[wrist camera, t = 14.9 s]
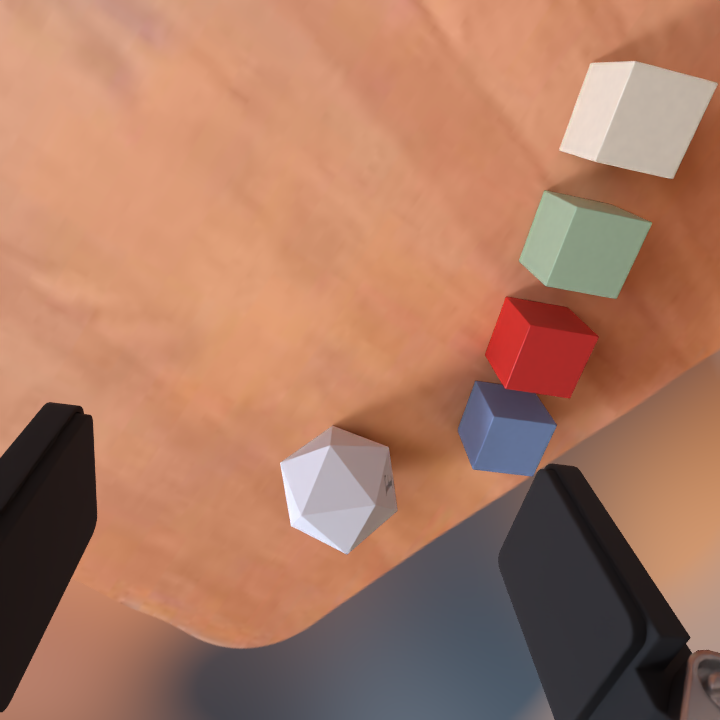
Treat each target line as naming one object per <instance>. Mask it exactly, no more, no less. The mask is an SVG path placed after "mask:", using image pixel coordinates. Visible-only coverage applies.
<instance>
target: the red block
mask: <svg viewBox="0 0 720 720" xmlns="http://www.w3.org/2000/svg"><path fill="white" fill-rule="evenodd" d="M598 338H599V336H598V335H597V334H596V333H595V332H593V331H592V330H591V329H590V328H589V327H588V326H587V325H586V324H585V323H584V322H583V321H582V320H581V319H580V318H578V317H577V316H576V315H575V314H574V313H573V312H572V311H571V310H570V309H569V308H568V307H563V306H557V305H551V304H546V303H540V302H534V301H529V300H523V299H518V298H512V297H506V299H505V301H504V304H503V307H502V310H501V312H500V315H499V318H498V321H497V323H496V326H495V329H494V331H493V334H492V337H491V340H490V342H489V345H488V348H487V351H486V353H485V356H486V358H487V359H488V361H489V363H490V364H491V366H492V368H493V369H494V371H495V373H496V375H497V376H498V378H499V380H500V381H501V383H502V385H503V386H504V388H505V389H510V390H516V391H523V392H530V393H537V394H543V395H550V396H557V397H564V398H570V397H571V395H572V393H573V391H574V389H575V387H576V385H577V382H578V380H579V378H580V376H581V374H582V372H583V370H584V368H585V366H586V363H587V361H588V359H589V357H590V355H591V353H592V351H593V349H594V347H595V344H596V342H597V340H598Z"/></svg>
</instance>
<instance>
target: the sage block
mask: <svg viewBox="0 0 720 720" xmlns="http://www.w3.org/2000/svg"><path fill="white" fill-rule="evenodd" d="M651 225H652V222H650V221H648V220H646V219H643V218H641V217H639V216H636V215H634V214H632V213H630V212H627V211H625V210H623V209H621V208H618V207H616V206H614V205H612V204H607V203H603V202H598V201H593V200H589V199H584V198H579V197H575V196H570V195H565V194H561V193H556V192H551V191H547V190H545V191H544V193H543V196H542V198H541V201H540V204H539V207H538V209H537V212H536V215H535V218H534V221H533V223H532V226H531V229H530V232H529V234H528V237H527V240H526V243H525V245H524V248H523V251H522V254H521V256H520V259H519V262H520V263H521V264H522V265H523V266H525V267H526V268H527V269H528V270H529V271H530V272H531V273H532V274H533V275H534V276H535V277H536V278H537V279H539V280H540V281H541V282H542V283H543V284H544V285H545V286H547V287H553V288H558V289H564V290H569V291H575V292H580V293H586V294H591V295H597V296H602V297H608V298H613V299H617V297H618V295H619V293H620V291H621V289H622V286H623V284H624V282H625V280H626V278H627V276H628V274H629V272H630V269H631V267H632V265H633V263H634V261H635V259H636V257H637V255H638V252H639V250H640V248H641V246H642V244H643V242H644V240H645V238H646V235H647V233H648V231H649V229H650V227H651Z"/></svg>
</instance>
